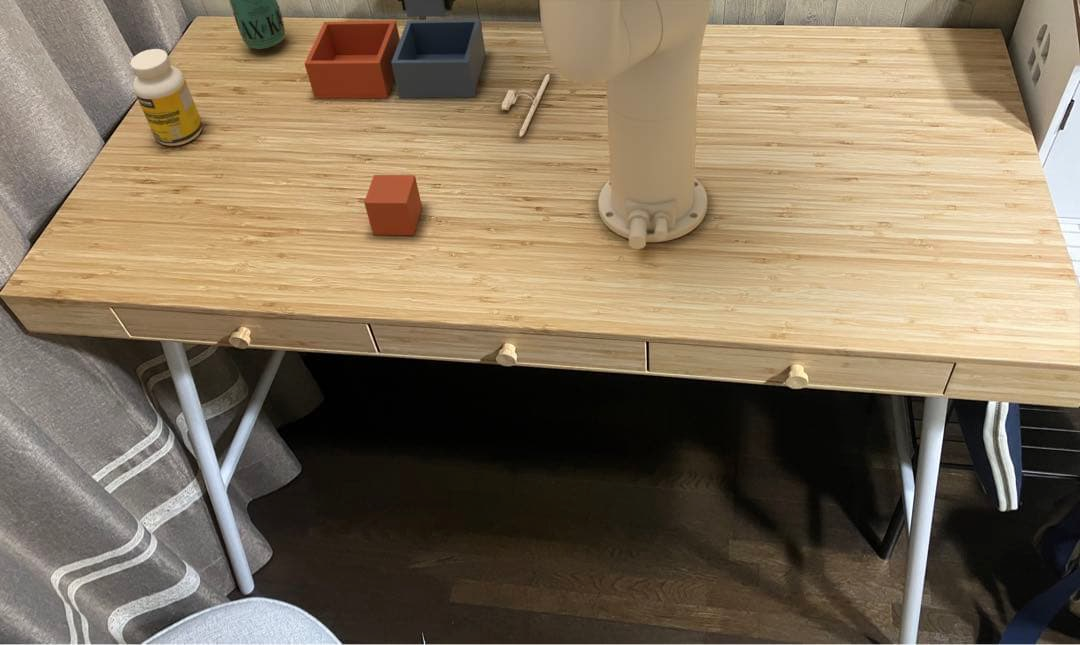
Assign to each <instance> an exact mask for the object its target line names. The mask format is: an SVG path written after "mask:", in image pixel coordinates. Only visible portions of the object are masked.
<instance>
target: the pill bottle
mask: <svg viewBox="0 0 1080 645" xmlns="http://www.w3.org/2000/svg"><path fill="white" fill-rule="evenodd" d="M130 67H131V69H132V72H133V74H134V75H135V77H134V79H133V82H132V89H133V93H134V94H135V96H136V99H137V101H138V103H139V106H140V107H141V111H142V113H143V114H144V117H145V119H146V121H147V123H148V126H149V128H150V130H151V132H152V134H153V137H154V138H155V140H156V141H157V142H158V143H159V144H161V145H165V146H169V147H170V146H171V147H174V146H181V145H186V144H187V143H189V142H191V141H194V140H195V139H196V138H197V137H198V136H199V135H200V133H201V132H202V129H203V121H202V119H201V116H200V114H199V111H198V109H197V105H196V104H195V100H194V99H193V96H192V93H191V90H190V88H189V86H188V83H187V81H186V78H185V76H184V73H183V72H182V70H180V69H179V68H178V67H176V66H173V65H172V63H171V59H170V57H169V55H168V53H167V51H166V50H164V49H160V48H151V49H146V50H143V51H141V52H139V53H137V54H136V55H134V56H133V57H132V58H131V60H130Z"/></svg>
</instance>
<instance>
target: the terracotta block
mask: <svg viewBox="0 0 1080 645" xmlns="http://www.w3.org/2000/svg"><path fill="white" fill-rule="evenodd" d="M364 207H365V211H366V215H367V218H368V221H369V225H370V229H371V232H372V235H373V236H415V234H416V231H417V227H418V224H419V220H420V218H421V217H420V216H421V213H422V209H423V204H422V200H421V195H420V191H419V187H418V184H417V178H416V175H415V174H373V176H372V180H371V182H370V185H369V188H368V190H367V193H366V196H365V199H364Z"/></svg>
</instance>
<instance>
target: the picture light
mask: <svg viewBox="0 0 1080 645" xmlns="http://www.w3.org/2000/svg"><path fill="white" fill-rule="evenodd" d="M543 77H544V78H543V80H542V83H541V84H540V87H539V88H538V90H537V93H536V96H535V95H534V94H533V93H532V92H531V91H528V90H520V91H518V92H517V93H516V90H515V89H508V90H507V93H506V94H505V97H504V99H503V101H502V103H501V110H502V111H509V110H510V107H511V106H512V105H515V103H516V101H517V99H518V97H519V96H525V97H527V98H529V99H530V100H531V101H532V104H531V107H530V108H529V110H528V113H527V115H526V118H525V119H524V121H523V124H522V126H521V128H520V129H519V134H518V135H519V138H522V137H523V136H525V134H526V132H527V129H528V127H529V125H530V122H531V121H532V118H533V116H534V113H535V111H536V109H537V107H538V105H539V103H540V100H541V98H542V96H543V94H544V92H545V90H546V87H547V86H548V84H549V81H550V78H551V76H550V73H548V74H546V75H545V76H543ZM522 92H523V93H522ZM524 92H525V93H528V94H530V95H531V96H532V97H533V98H534V99H533V98H532V97H531V96H530V95H527V94H524Z"/></svg>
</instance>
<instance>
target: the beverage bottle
mask: <svg viewBox="0 0 1080 645" xmlns="http://www.w3.org/2000/svg"><path fill="white" fill-rule="evenodd" d="M229 5H230V7H231V9H232V12H233V14H232V15H233V17H234V20H235V24H236V26H237V29H238V32H239V35H240V38H241V41H243V42H244V44H245V45H246V46H247V47H248V48H251V49H256V50H257V49H258V50H259V49H261V50H262V49H267V48H270V47H271V48H272V47H273V46H276V45H277V44H279V43H280V42H282V41H283V39H284V38H285V36H286V35H285V34H286V26H285V22H284V19H283V15H282V13H281V8H280V6H279V3H278V0H229Z"/></svg>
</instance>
